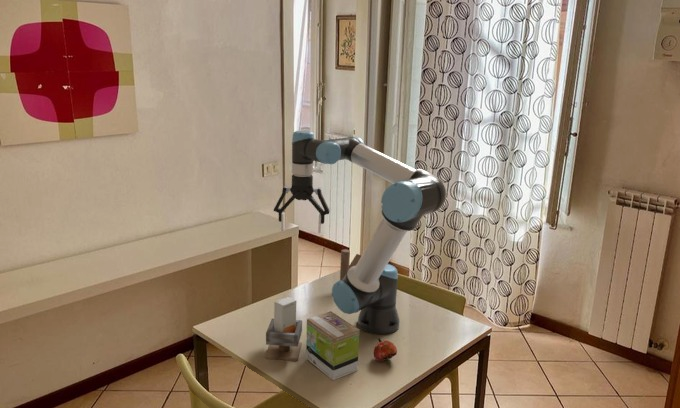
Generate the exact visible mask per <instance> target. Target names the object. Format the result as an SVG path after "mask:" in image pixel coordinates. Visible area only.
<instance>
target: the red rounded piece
mask: <svg viewBox="0 0 680 408" xmlns="http://www.w3.org/2000/svg"><path fill="white" fill-rule="evenodd" d="M377 340H378V343H377V344H376V345H375V346H374V348H373V357H374V359H375V360H377V362H378V363H382V362H384V361H387V362H388V364H389V366H390V368H392V366H391V362H390V360H392V359H393V358H394V357H395V356H396V355H397V353H398V349H397V346H396V345H395V344H394V343H393V342H392V341H390V340H383V341H382V340H381V338H380V337H379V338H377Z"/></svg>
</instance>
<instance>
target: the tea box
mask: <svg viewBox="0 0 680 408" xmlns="http://www.w3.org/2000/svg"><path fill="white" fill-rule="evenodd" d="M359 341H360V329H359V328H358V327H356V326H354V325H353V324H351V323H350V322H348V321H347V320H345V319H343V318H342V317H340V316H339V315H337V314H336V313H334V312H333V311H330V310H329V311H327V312H324V313H322V314H319V315H315V316H311V317H309V318H307V319H306V342H305V343H306V345H305V346H306V351H305V352H306V355H305V356H306V357H305V358H306V359H307V361H309V362H310V363H311V364H313V365H314V366H315V367H316V368H317V369H318V370H320V371H321V372H322V373H323V374H325V375H326V376H327V377H328V378H329V379H330V380H332V381H335V380H338V379H341V378H343V377H346V376H348V375H351V374H353V373H355V372H357V371H358V366H359V365H358V364H359V348H360V347H359V345H360V344H359V343H360V342H359Z"/></svg>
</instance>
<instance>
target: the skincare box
mask: <svg viewBox="0 0 680 408" xmlns="http://www.w3.org/2000/svg"><path fill="white" fill-rule="evenodd" d="M273 305H274V308H273V309H274V311H273V316H274V317H273V319H274V332H283V333H295V331H296V320H297V300H296V299H295V298H292V297H290V296H287V297H284V298H280V299H278V300H276V301H275V300H274V304H273Z"/></svg>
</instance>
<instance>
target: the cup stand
mask: <svg viewBox="0 0 680 408" xmlns="http://www.w3.org/2000/svg"><path fill="white" fill-rule="evenodd" d="M302 333H303V320H301V319H296V331H295V333H283V332H274V318H271V319H270V322H269V325H268V327H267V329H266V332H265V345H266V346H267V345H269V347H268V349H267V353H266V354H265V359H267V360H268V359H269V360H280V361H281V360H282V361H295V362H297V361H298V360H299V356H300V353H301V349H302V344H303V342H300V341H301V337H302Z"/></svg>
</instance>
